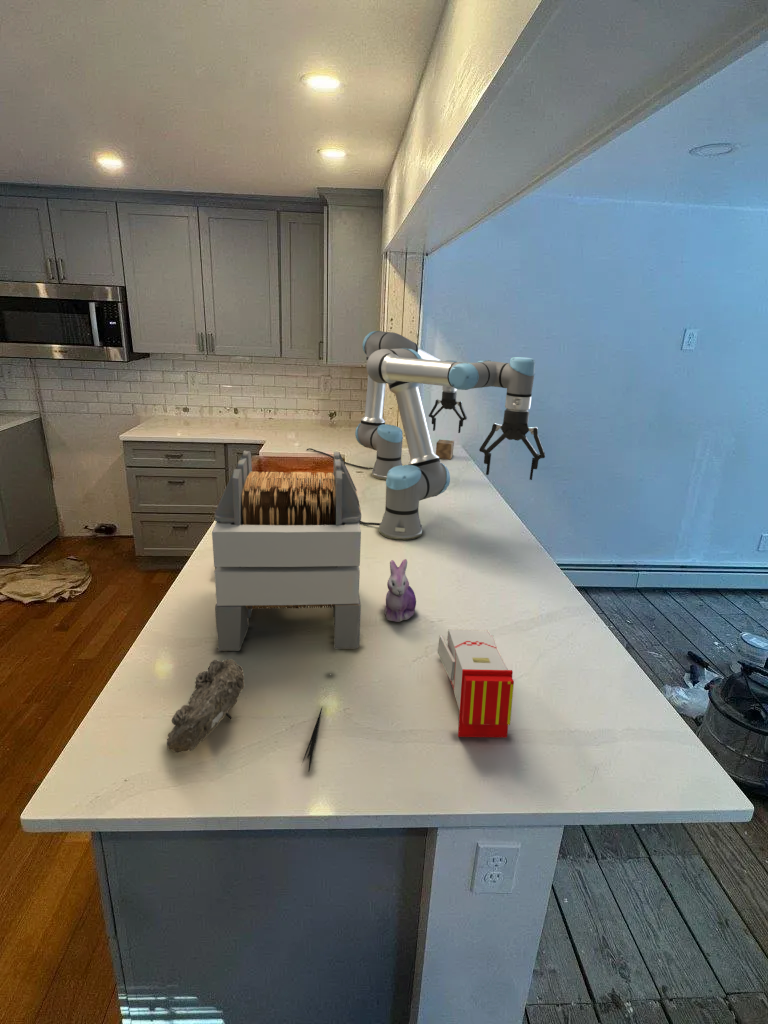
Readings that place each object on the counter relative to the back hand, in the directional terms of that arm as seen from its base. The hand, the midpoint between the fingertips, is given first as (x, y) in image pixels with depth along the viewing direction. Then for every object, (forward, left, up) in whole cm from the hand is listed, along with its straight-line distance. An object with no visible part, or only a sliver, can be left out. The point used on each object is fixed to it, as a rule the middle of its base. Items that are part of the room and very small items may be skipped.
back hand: (446, 431), depth 303 cm
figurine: (+68, -159, -14) cm, 173 cm away
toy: (+96, -177, -14) cm, 202 cm away
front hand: (+73, -102, +12) cm, 126 cm away
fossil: (+59, -213, -14) cm, 222 cm away
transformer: (+46, -175, -14) cm, 182 cm away
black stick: (+76, -202, -14) cm, 216 cm away
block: (0, 0, -14) cm, 14 cm away
